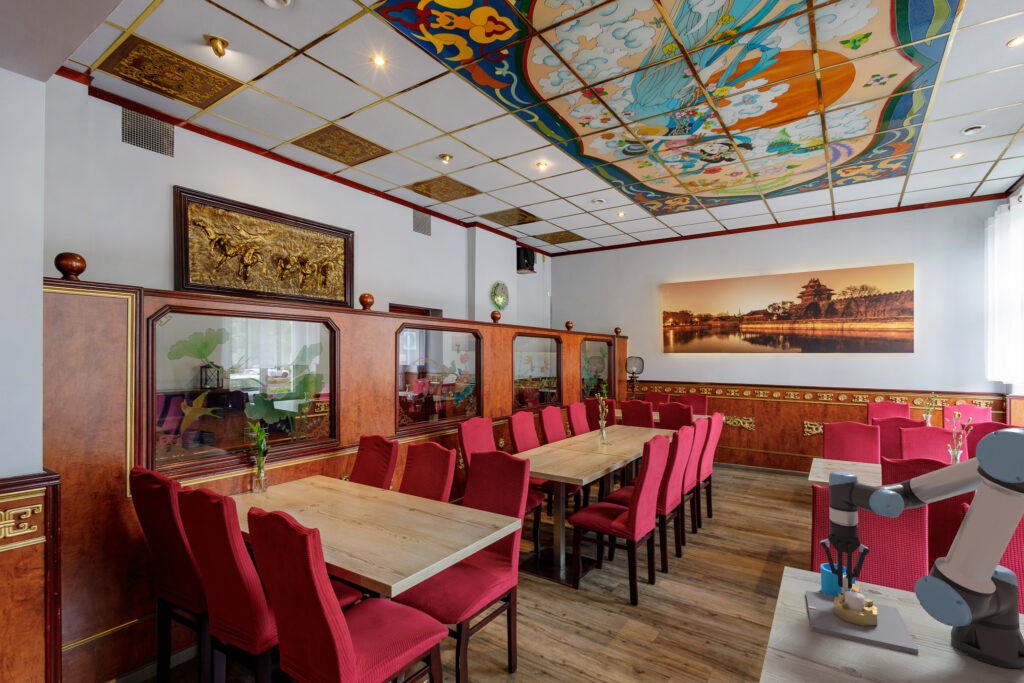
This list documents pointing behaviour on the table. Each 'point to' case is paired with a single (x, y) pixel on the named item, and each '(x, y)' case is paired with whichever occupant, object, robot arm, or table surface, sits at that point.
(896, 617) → the housing plate
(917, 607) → the table surface
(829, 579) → the mug
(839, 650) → the table surface
